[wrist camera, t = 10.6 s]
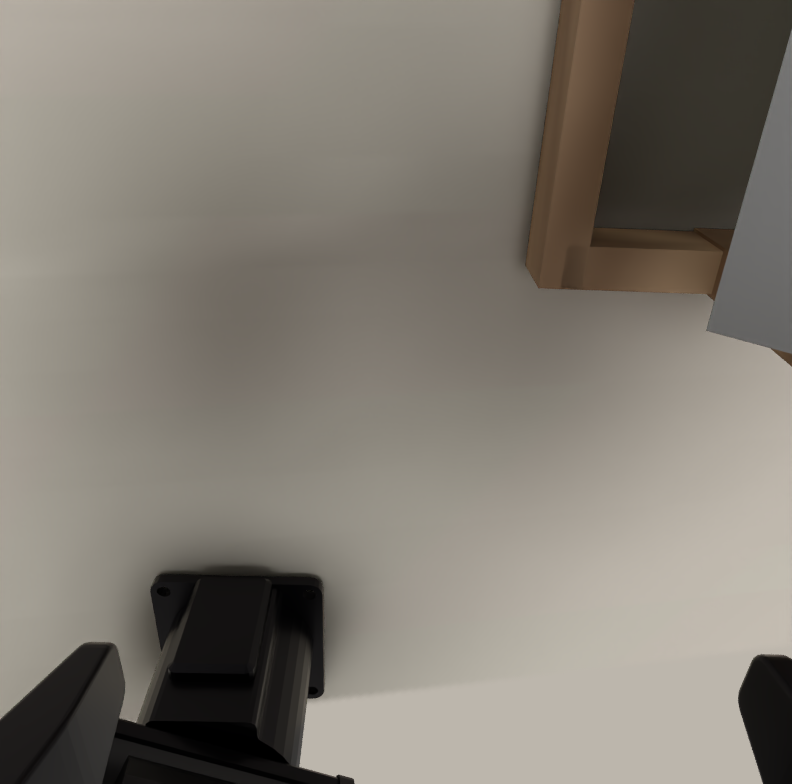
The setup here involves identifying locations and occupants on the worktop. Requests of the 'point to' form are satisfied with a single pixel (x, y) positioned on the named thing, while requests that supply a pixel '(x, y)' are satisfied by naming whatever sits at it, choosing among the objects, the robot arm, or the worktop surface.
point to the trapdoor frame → (583, 170)
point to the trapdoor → (763, 237)
